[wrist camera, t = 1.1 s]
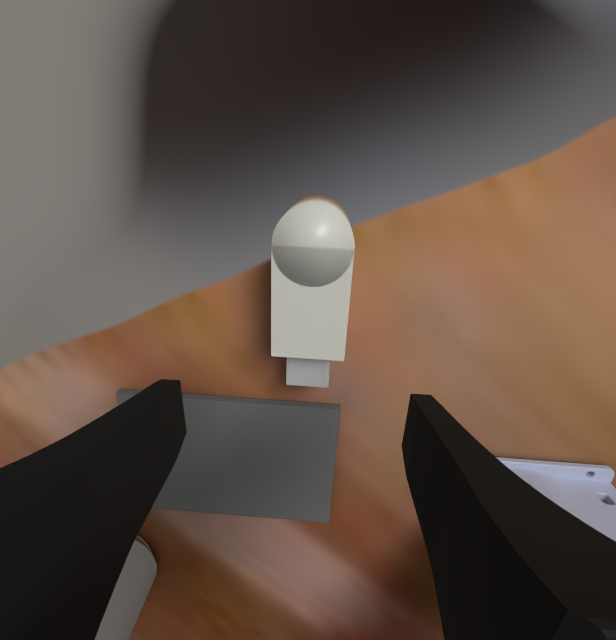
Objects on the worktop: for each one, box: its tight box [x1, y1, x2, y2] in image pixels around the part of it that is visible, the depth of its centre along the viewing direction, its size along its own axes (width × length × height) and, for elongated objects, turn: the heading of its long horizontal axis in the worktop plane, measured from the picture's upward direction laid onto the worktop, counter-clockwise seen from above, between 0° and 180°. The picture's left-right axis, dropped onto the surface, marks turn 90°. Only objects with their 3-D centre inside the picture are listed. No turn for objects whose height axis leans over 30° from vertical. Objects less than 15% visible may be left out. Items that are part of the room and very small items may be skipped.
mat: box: [116, 389, 340, 523], centre depth 25 cm, size 14×10×1 cm
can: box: [95, 535, 157, 640], centre depth 24 cm, size 8×8×12 cm
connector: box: [271, 195, 355, 388], centre depth 18 cm, size 9×3×4 cm, turn 178°
